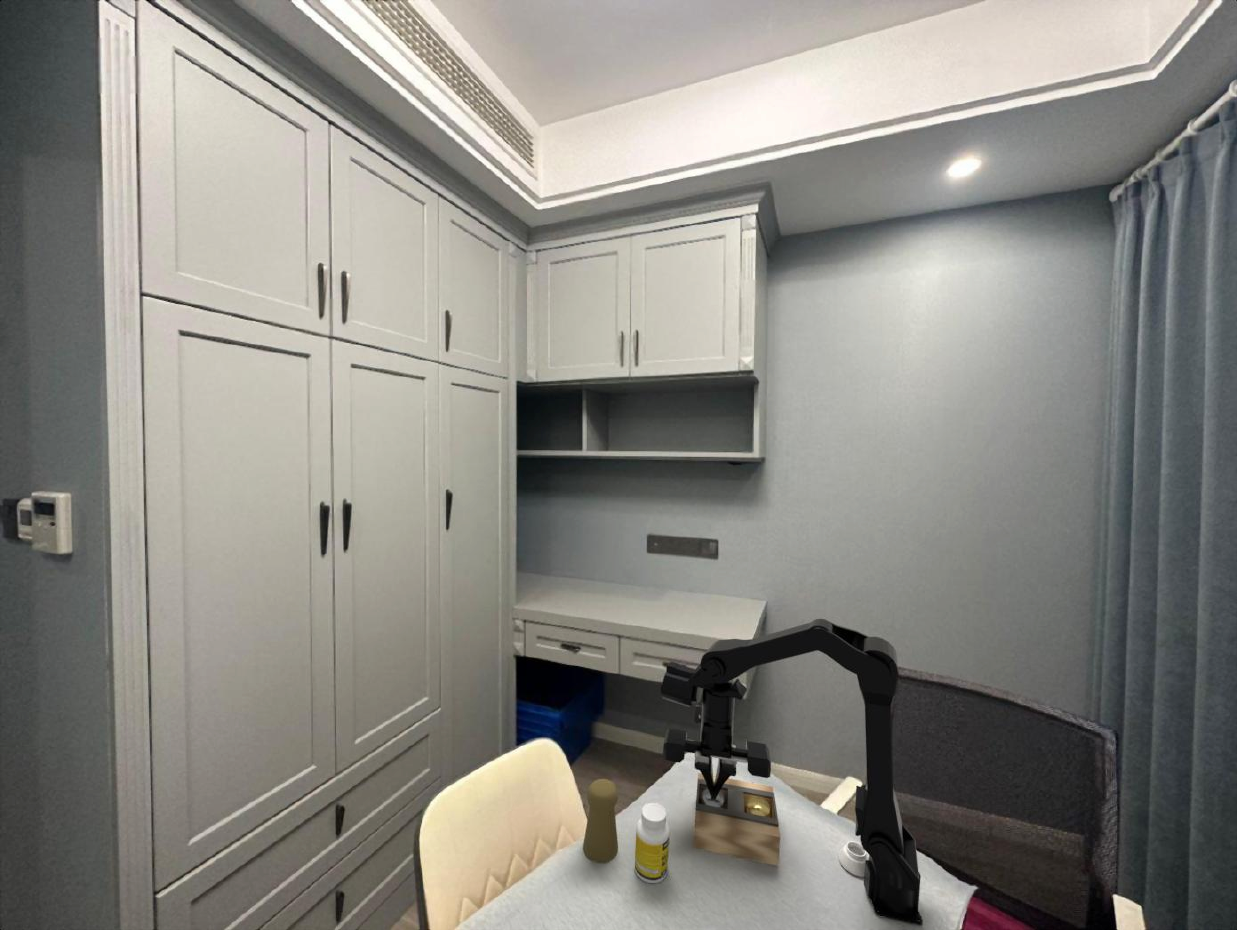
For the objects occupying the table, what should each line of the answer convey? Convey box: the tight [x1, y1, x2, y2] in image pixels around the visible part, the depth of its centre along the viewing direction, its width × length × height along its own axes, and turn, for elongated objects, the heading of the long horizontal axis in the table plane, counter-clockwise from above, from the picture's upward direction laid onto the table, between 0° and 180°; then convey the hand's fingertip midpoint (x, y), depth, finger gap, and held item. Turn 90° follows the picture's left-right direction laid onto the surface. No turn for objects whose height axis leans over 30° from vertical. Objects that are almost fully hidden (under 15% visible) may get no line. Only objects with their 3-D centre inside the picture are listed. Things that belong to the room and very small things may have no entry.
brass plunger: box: [747, 797, 770, 817], centre depth 85 cm, size 4×4×5 cm
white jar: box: [838, 840, 869, 878], centre depth 80 cm, size 5×3×5 cm
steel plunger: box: [702, 789, 724, 808], centre depth 87 cm, size 4×4×5 cm
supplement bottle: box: [634, 802, 671, 884], centre depth 77 cm, size 5×5×10 cm
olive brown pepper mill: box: [582, 778, 619, 864], centre depth 81 cm, size 6×6×11 cm
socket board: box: [693, 772, 781, 867], centre depth 86 cm, size 14×12×5 cm
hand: (713, 796), depth 87 cm, fingers closed, pressing on steel plunger
